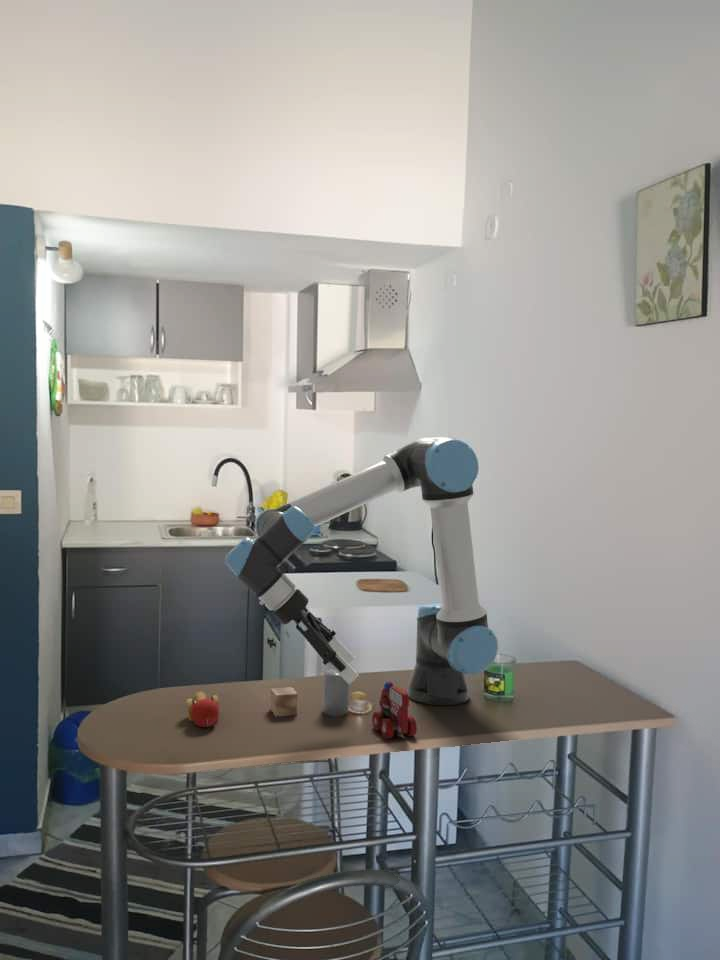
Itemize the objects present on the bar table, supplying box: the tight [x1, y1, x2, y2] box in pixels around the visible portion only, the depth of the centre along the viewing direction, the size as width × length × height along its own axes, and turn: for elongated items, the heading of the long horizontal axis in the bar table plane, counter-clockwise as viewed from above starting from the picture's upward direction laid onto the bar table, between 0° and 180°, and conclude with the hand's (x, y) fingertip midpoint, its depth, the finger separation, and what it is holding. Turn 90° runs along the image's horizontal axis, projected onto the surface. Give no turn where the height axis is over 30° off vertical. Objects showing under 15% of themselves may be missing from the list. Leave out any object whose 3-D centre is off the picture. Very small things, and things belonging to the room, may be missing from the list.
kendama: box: [186, 691, 221, 728], centre depth 187 cm, size 8×6×18 cm
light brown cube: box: [269, 686, 298, 718], centre depth 192 cm, size 5×5×5 cm
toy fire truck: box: [371, 681, 418, 740], centre depth 182 cm, size 7×12×10 cm, turn 21°
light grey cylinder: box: [322, 668, 350, 717], centre depth 194 cm, size 6×6×9 cm
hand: (352, 670), depth 181 cm, fingers open, 13 cm apart
